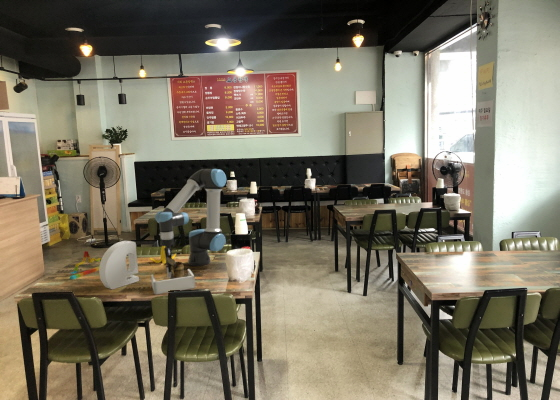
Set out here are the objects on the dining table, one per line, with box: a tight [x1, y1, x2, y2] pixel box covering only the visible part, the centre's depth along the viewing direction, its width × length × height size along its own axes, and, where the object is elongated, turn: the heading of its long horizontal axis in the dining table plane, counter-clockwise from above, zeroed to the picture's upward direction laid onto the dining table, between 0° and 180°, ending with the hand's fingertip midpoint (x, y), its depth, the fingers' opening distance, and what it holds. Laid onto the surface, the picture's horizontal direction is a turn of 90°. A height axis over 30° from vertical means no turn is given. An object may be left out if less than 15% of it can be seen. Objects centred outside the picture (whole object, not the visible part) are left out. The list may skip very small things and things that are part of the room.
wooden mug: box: [166, 257, 186, 279], centre depth 250 cm, size 9×14×18 cm, turn 158°
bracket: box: [98, 240, 140, 290], centre depth 251 cm, size 7×21×25 cm, turn 142°
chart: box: [69, 250, 102, 280], centre depth 280 cm, size 30×3×15 cm, turn 155°
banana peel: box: [149, 245, 177, 265], centre depth 298 cm, size 16×19×17 cm
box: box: [150, 268, 196, 295], centre depth 244 cm, size 22×15×7 cm
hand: (169, 277), depth 253 cm, fingers closed
